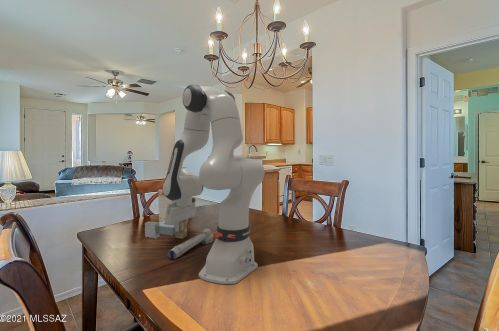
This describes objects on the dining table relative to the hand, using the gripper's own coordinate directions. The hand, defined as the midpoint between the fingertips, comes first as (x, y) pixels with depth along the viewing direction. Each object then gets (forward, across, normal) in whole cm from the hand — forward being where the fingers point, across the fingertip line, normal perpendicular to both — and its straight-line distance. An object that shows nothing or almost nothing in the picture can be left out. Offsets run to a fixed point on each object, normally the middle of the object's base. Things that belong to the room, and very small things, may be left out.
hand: (181, 229), depth 130 cm
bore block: (+4, +6, +11) cm, 13 cm away
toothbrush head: (+4, -12, -14) cm, 19 cm away
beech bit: (+4, 0, 0) cm, 4 cm away
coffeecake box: (+4, +22, +21) cm, 31 cm away
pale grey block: (+4, -5, +13) cm, 14 cm away
